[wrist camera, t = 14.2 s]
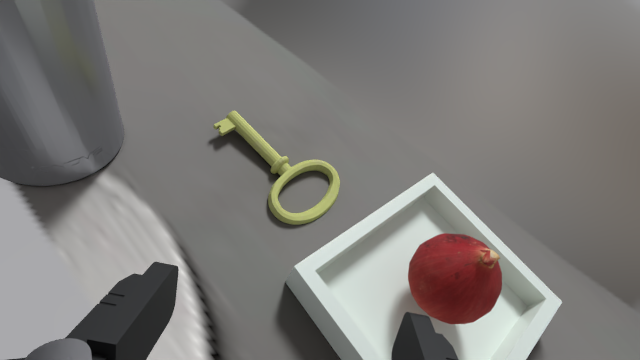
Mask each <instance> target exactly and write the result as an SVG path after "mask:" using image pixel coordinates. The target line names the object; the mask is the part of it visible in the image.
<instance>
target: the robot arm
mask: <svg viewBox="0 0 640 360" xmlns="http://www.w3.org/2000/svg"><path fill="white" fill-rule="evenodd" d="M123 139H124V128H123V124H122V120H121V115H120V111H119V107H118V103H117V98H116V93H115V89H114V84H113V80H112V76H111V72H110V67H109V63H108V59H107V55H106V50H105V46H104V42H103V38H102V33H101V29H100V25H99V20H98V16H97V12H96V8H95V3H94V0H0V178H3V179H6V180H8V181H11V182H14V183H19V184H25V185H37V186H48V185H56V184H64V183H68V182H71V181H75V180H79V179H81V178H84V177H86V176H88V175H91V174H93V173H95V172H96V171H98V170H99V169H101V168H102V167H104V166H105V165H107V164H108V163H109V162H110V161H111V160H112V159H113V158H114V157H115V155H116V154H117V152H118V151H119V149H120V148H121V145H122V142H123ZM177 280H178V266H174V265H169V264H164V263H159V262H154V263H153V264H152V265H151V266H150V267H149V268H148V269H147V270H146V272H145V273H144V274H143V275H139V274H132V275H130V276H128V277H127V278H125V279H123V280H121V281H119V282H118V283H117V284H116V285H115V286H114V287H113V288H112V289H111V290H110V291H109V293H108V295H106V296H105V297H104V298H103V299H102V300H101V301H100V303H99V304H97V305H96V306H95V307H94V308H93V309H92V310H91V311H90V313H89V314H88V315H87V316H86V317H85V318H84V319H83V320H82V321H81V322H80V323H79V324H78V325H77V326H76V327H75V328H74V329H73V330H72V332H71V333H70V334H69V335H68V336H67V337H66V338H65V339H59V340H55V341H51V342H49V343H46V344H44V345H42V346H40V347H38V348H37V349H35V350H34V351H33V352H31V353H30V354H29V355H28V356H27V357H26V358H20V359H9V360H146V359H147V357H148V355H149V354H150V352H151V350H152V349H153V347H154V345H155V344H156V342H157V341H158V339H159V337H160V336H161V334H162V332H163V331H164V329H165V327H166V326H167V324H168V322H169V321H170V318H171V316H172V313H173V310H174V306H175V300H176V290H177ZM391 360H459V359H458V357H457V355H456V353H455V350H454V348H453V346H452V345H451V344H450V343H449V342H448V340H447V339H446V338H445V337H444V336H443V335H442V334H439V333H436V332H435V330H434V327H433V325H432V322H431V320H430V318H429V316H426V315H421V314H416V313H411V312H406V313H405V314H404V316H403V319H402V322H401V325H400V328H399V330H398V333H397V336H396V339H395V342H394V344H393V348H392V356H391Z"/></svg>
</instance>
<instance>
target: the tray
mask: <svg viewBox="0 0 640 360" xmlns="http://www.w3.org/2000/svg"><path fill="white" fill-rule="evenodd" d="M444 233H449V234H465V235H468V236H470V237H473V238H475V239H477V240H479V241H481V242H483V243H484V244H486V245H487V246H488V247H489V248H490V249H491V250H493V251H494V252H496V253H497V254H498V255H499V257H500V259H498V262H499V265H500V268H501V272H502V290H501V293H500V295H499V298H498V300H497V302H496V304H495V306H494V307H493V309H492V310H491V311H490V312H489V313H487V314H486V315H484V316H483V317H481V318H479V319H478V320H476V321H475V322H472V323H467V324H448V323H445V322H442V321H440V320H437V319H435V318H433V317H431V316H429V315H428V314H427V313H426V312H425V311H424V310H422V309H421V308H420V307H419V306H418V304H417V302H416V301H415V299H414V297H413V296H412V294H411V290H410V286H409V282H408V270H409V263H410V261H411V259H412V257H413V255H414V253H415V252H416V250H417V248H418V247H419V245H420V244H422V243H423V242H425V241H427V240H429V239H431V238H433V237H435V236H437V235H439V234H444ZM285 282H286V284H287V285H288V287H289V288H290V289H291V291H292V292H293V294H294V295H295V296H296V298H297V299H298V301H299V302H300V303H301V305H302V306H303V307H304V309H305V310H306V312H307V313H308V314H309V316H310V317H311V319H312V320H313V321H314V323H315V324H316V326H317V327H318V328H319V330H320V331H321V333H322V334H323V335H324V337H325V338H326V339H327V341H328V342H329V344H330V345H331V346H332V348H333V349H334V351H335V352H336V353H337V355H338V356H339V358H340V359H341V360H391V356H392V348H393V344H394V342H395V339H396V336H397V333H398V330H399V328H400V325H401V322H402V319H403V316H404V314H405V313H406V312H411V313H416V314H421V315H426V316H429V318H430V320H431V322H432V325H433V327H434V330H435V332H436V333H439V334H442V335H443V336H444V337H445V338H446V339H447V340H448V342H449V343H450V344H451V345H452V346H453V348H454V350H455V353H456V355H457V357H458V359H459V360H526V359H527V357H528V356H529V354H530V352H531V351H532V349H533V348H534V346H535V344H536V343H537V341H538V340H539V338H540V336H541V335H542V333H543V332H544V330H545V328H546V327H547V325H548V324H549V322H550V320H551V319H552V317H553V316H554V314H555V313H556V311H557V309H558V308H559V306H560V305H561V303H562V301H561V300H560V299H559V298H558V297H557V296H556V295H555V294H554V293H553V292H552V291H551V290H550V289H549V288H548V287H547V286H546V285H545V284H544V283H543V282H542V281H541V280H540V279H539V278H538V277H537V276H536V275H535V274H534V273H533V272H532V271H531V270H530V269H529V268H528V267H527V266H526V265H525V264H524V263H523V262H522V261H521V260H520V259H519V258H518V257H517V256H516V255H515V254H514V253H513V252H512V251H511V250H510V249H509V248H508V247H507V246H506V245H505V244H504V243H503V242H502V241H501V240H500V239H499V238H498V237H497V236H496V235H495V234H494V233H493V232H492V231H491V230H490V229H489V228H488V227H487V226H486V225H485V224H484V223H483V222H482V221H481V220H480V219H479V218H478V217H477V216H476V215H475V214H474V213H473V212H472V211H471V210H470V209H469V208H468V207H467V206H466V205H465V204H464V203H463V202H462V201H461V200H460V199H459V198H458V197H457V196H456V195H455V194H454V193H453V192H452V191H451V190H450V189H449V188H448V187H447V186H446V185H445V184H444V183H443V182H442V181H441V180H440V179H439V178H438V177H437V176H436V175H435V174H434V173H431V174H430V175H428V176H427V177H425V178H424V179H423V180H421V181H420V182H418V183H417V184H415V185H414V186H412V187H411V188H409V189H408V190H406V191H405V192H403V193H402V194H400V195H399V196H397V197H396V198H394V199H393V200H391V201H390V202H388V203H387V204H386V205H384V206H383V207H381V208H380V209H378V210H377V211H375V212H374V213H372V214H371V215H369V216H368V217H366V218H365V219H363V220H362V221H360V222H359V223H357V224H356V225H354V226H353V227H351V228H350V229H349V230H347V231H346V232H344V233H343V234H341V235H340V236H338V237H337V238H335V239H334V240H332V241H331V242H329V243H328V244H326V245H325V246H323V247H322V248H320V249H319V250H317V251H316V252H315V253H313V254H312V255H310V256H309V257H307V258H306V259H304V260H303V261H301V262H300V263H298V264H297V265H295V266H294V267H293V269H292V271H291V273H290V274H289V276H288V278H287V280H286V281H285Z"/></svg>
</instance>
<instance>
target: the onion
mask: <svg viewBox="0 0 640 360" xmlns="http://www.w3.org/2000/svg"><path fill="white" fill-rule="evenodd" d="M498 259H500V257H499V255H498V254H497V253H496V252H494V251H493V250H491V249H490V248H489V247H488V246H487V245H486V244H484V243H483V242H481V241H479V240H477V239H475V238H473V237H470V236H468V235H465V234H449V233H444V234H439V235H437V236H435V237H433V238H431V239H429V240H427V241H425V242H423V243H422V244H420V245H419V247H418V248H417V250H416V252H415V253H414V255H413V257H412V259H411V261H410V263H409V270H408V282H409V286H410V290H411V294H412V296H413V297H414V299H415V301H416V302H417V304H418V306H419V307H420V308H421V309H422V310H424V311H425V312H426V313H427V314H428V315H429V316H431V317H433V318H435V319H437V320H440V321H442V322H445V323H448V324H467V323H472V322H475V321H476V320H478V319H479V318H481V317H483V316H484V315H486V314H487V313H489V312H490V311H491V310H492V309H493V307H494V306H495V304H496V302H497V300H498V298H499V295H500V293H501V290H502V272H501V268H500V265H499V262H498Z"/></svg>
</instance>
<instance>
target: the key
mask: <svg viewBox="0 0 640 360" xmlns="http://www.w3.org/2000/svg"><path fill="white" fill-rule="evenodd" d="M213 128H214V129H215V130H216V129H218V128H219V134H220V135H221V136H223V135H225V134H227V133H229V132H230V131H232V130H234V129H235V130H236V131H237V132H238V133H239V134H240V135H241V136H242V137H243V138H244V139H245V140H246V141H247V142H248V143H249V144H250V145H251V146H252V147H253V148H254V149H255V150H256V151H257V152H258V153H259V154H260V155H261V156H262V157H263V158H264V159H265V160H266V161H267V162H268V163H269V164H270V165H271V166H272V167H271V170H270V171H271V173H273V174H276V173H278V174H279V175H280V176H281V177H280V178H279V179H278V180H277V181H276V182H275V183H274V185H273V186H272V187H271V190H270V193H269V196H268V204H269V208H270V210H271V212H272V213H273V214H274V216H275V217H276V218H278V219H279V220H280V221H282V222H284V223H288V224H293V225H298V224H305V223H308V222H311V221H314V220H316V219H317V218H319V217H320V216H322V215H323V214H324V213H326V212H327V211H328V210H329V209H330V208H331V206H332V205H333V204H334V202H335V201H336V198H337V196H338V191H339V186H340V180H339V176H338V173H337V171H336V170H335V169H334V168H333V167H332V166H331V165H330V164H328V163H326V162H324V161H321V160H307V161H304V162H301V163H299V164H297V165H295V166H293V167H290V165H289V164H288V161H289V159H288V157H287V156H283V157H281V156H280V155H279V154H278V153H277V152H276V151H275V150H274V149H273V148H272V147H271V146H270V145H269V144H268V143H267V142H266V141H265V140H264V139H263V138H262V137H261V136H260V135H259V134H258V133H257V132H256V131H255V130H254V129H253V128H252V127H251V126H250V125H249V124H248V123H247V122H246V121H245V120H244V119H243V118H242V117H241V116H240V115H239V114H238V113H237V112H236V111H232V112H230V113H229V114H228V115H227V117H226V119H224V120H222V121H220V122H218V123H216V124H214V127H213ZM312 170H316V171H320V172H322V173H324V174H325V175H327V177H328V178H329V181H330V185H329V188H328V191H327V193H326V195H325V196H324V198H323V199H322V200H321V201H320V202H319V203H318V204H317V205H316V206H314V207H313V208H311V209H309V210H307V211H305V212H302V213H289V212H287V211H285V210H284V209H283V208H282V207H281V206H280V204H279V202H278V195H279V193H280V191H281V189H282V188H283V186H284V185H285V184H286V183H287V182H288V181H290V180H291V179H292V178H294V177H295V176H297V175H299V174H301V173H304V172H307V171H312Z"/></svg>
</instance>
